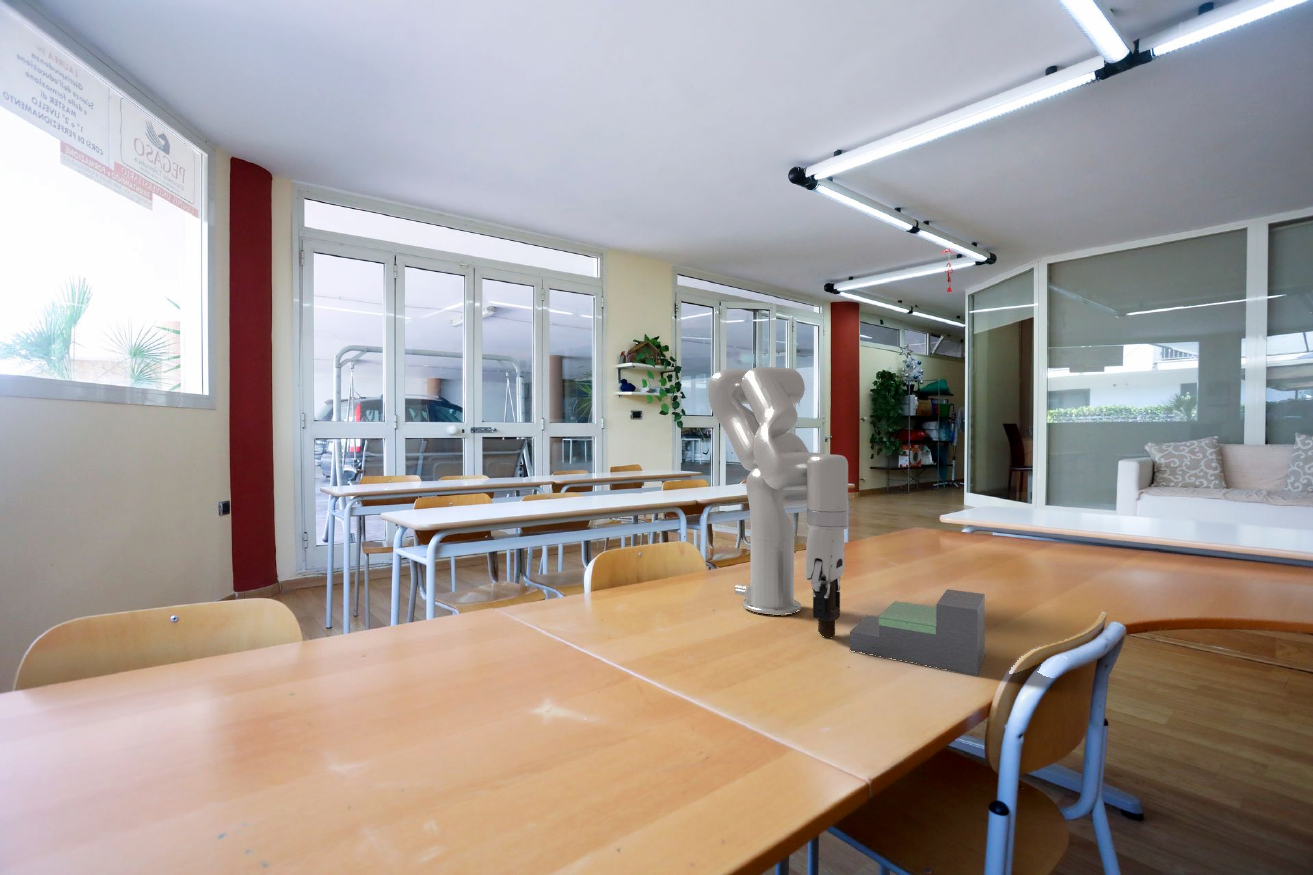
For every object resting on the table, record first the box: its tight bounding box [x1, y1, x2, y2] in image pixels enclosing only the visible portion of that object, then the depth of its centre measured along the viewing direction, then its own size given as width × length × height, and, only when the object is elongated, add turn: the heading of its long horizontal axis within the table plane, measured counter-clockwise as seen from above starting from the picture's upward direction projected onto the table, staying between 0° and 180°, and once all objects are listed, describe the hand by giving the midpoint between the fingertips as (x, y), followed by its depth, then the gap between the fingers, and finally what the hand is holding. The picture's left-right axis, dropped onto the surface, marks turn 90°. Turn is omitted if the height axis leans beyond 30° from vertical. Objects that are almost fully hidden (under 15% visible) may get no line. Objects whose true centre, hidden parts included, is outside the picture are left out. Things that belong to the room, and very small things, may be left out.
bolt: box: [817, 558, 843, 638], centre depth 115 cm, size 6×5×15 cm
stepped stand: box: [849, 588, 986, 677], centre depth 106 cm, size 20×12×10 cm, turn 57°
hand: (826, 613), depth 115 cm, fingers closed on bolt, 5 cm apart
